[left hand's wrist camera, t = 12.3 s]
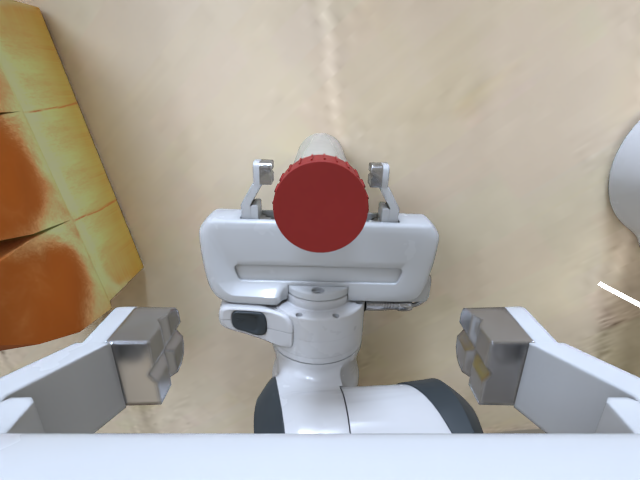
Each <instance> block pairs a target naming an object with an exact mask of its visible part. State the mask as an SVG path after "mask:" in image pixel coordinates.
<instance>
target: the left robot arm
mask: <svg viewBox="0 0 640 480" xmlns="http://www.w3.org/2000/svg"><path fill="white" fill-rule="evenodd" d="M179 324H180V317H179V312H178V310H177V309H176V308H170V307H117V308H115V309H114V310H113V311H112V312H111V313H110V314H109V315H108V316H107V317H106V318H105V319H104V320H103V321H102V322H101V323H100V325H99V326H98V327H97V328H96V329H95V330H94V331H93V332H92V333H91V334H90V335H89V336H88V337H87V338H86V339H85V340H84V341H83V343H75V344H72V345H70V346H68V347H66V348H64V349H62V350H59V351H57V352H55V353H53V354H51V355H49V356H46V357H44V358H42V359H40V360H38V361H36V362H33V363H31V364H29V365H27V366H25V367H22V368H20V369H18V370H16V371H14V372H12V373H9V374H7V375H5V376H3V377H1V378H0V480H640V378H639V377H637V376H635V375H633V374H630V373H628V372H626V371H624V370H622V369H620V368H617V367H615V366H613V365H611V364H609V363H607V362H604V361H602V360H600V359H598V358H596V357H594V356H591V355H589V354H587V353H585V352H583V351H581V350H578V349H576V348H574V347H572V346H570V345H568V344H565V343H558V342H557V341H556V340H555V339H554V338H553V337H552V336H551V335H550V334H549V333H548V332H547V331H546V330H545V329H544V328H543V327H542V326H541V324H540V323H539V322H538V321H537V320H536V319H535V318H534V317H533V316H532V315H531V314H530V313H529V312H528V311H527V310H526V309H525V308H523V307H521V306H520V307H491V308H463V310H462V313H461V317H460V324H461V325H462V327H463V329H464V330H463V331H462V332H461V333H460V334H459V335H458V336H457V342H456V354H457V360H458V363H459V366H460V368H461V370H462V372H463V373H465V374H466V375H468V376H469V377H470V379H469V386H470V388H471V390H472V392H473V394H474V396H475V398H476V400H477V402H478V404H480V405H514V407H515V408H516V409H517V410H518V411H519V412H521V413H522V414H523V415H524V416H526V417H527V418H528V419H529V420H531V421H532V422H533V423H534V424H535V425H537V426H538V427H539V428H540V429H542V430H543V431H544V432H545V433H547V434H101V433H100V434H99V433H95V432H96V431H97V430H99V429H100V428H101V427H102V426H103V425H105V424H106V423H107V422H108V421H110V420H111V419H112V418H113V417H115V416H116V415H117V414H118V413H120V412H121V411H122V410H123V409H124V408H126V405H159V404H162V402H163V400H164V398H165V396H166V394H167V392H168V390H169V388H170V386H171V379H170V377H171V376H172V375H174V374H175V373H177V372H178V370H179V368H180V366H181V364H182V359H183V355H184V341H183V336H182V335H181V334H180V333H179V332H178V331H177V330H176V329H177V327H178V325H179Z"/></svg>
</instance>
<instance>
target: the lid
mask: <svg viewBox="0 0 640 480" xmlns="http://www.w3.org/2000/svg"><path fill="white" fill-rule="evenodd" d="M279 181H280V183H279V184H277V186H276V189H275V191H274V192H275V196H274V200H273V203H272V204H273V213H274V218H275V221H276V224H277V226H278V228H279V230H280V231H281V233H282V234H283V236H284V237H285V238H286V239H287V240H288V241H289V242H291V243H292V244H293V245H295V246H297V247H299V248H301V249H303V250H306V251H310V252H316V253H326V252H332V251H336V250H338V249H341V248H343V247H345V246H347V245H348V244H349V243H351V242H352V241H353V240H354V239H355V238H356V237H357V236H358V235H359V234H360V232H361V231H362V229H363V227H364V225H365V223H366V220H367V216H368V211H369V209H368V208H369V206H368V199H369V197H368V195H367V193H366V190H365V185H364V182H363V180H362V179H360V178H359V175H358V173H357V170H356V169H355V170H354V169H353V168H352V167H351V166H350V165H349V164H348V162H347V161H346V162H345V161H343V160H341V159H339V158H338V157H337V156H335V157H334V156H330V155H325V153H323V155H313V154H311V156H308V157H305V158H300V159H299V161H297V162H295V163H294V164H293V165H290V166H289V168H288V169H287V171H286V172H285V173H283V174H282V176H281V178H280V180H279Z"/></svg>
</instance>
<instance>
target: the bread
mask: <svg viewBox="0 0 640 480" xmlns="http://www.w3.org/2000/svg"><path fill="white" fill-rule="evenodd" d="M142 268H143V264H142V262H141V259H140V257H139V254H138V252H137V250H136V247H135V245H134V242H133V240H132V237H131V235H130V232H129V230H128V227H127V225H126V222H125V220H124V217H123V215H122V212H121V210H120V207H119V205H118V202H117V200H116V197H115V195H114V192H113V190H112V188H111V185H110V183H109V180H108V178H107V175H106V173H105V170H104V168H103V165H102V163H101V160H100V158H99V155H98V153H97V150H96V148H95V145H94V143H93V140H92V138H91V135H90V133H89V130H88V128H87V126H86V123H85V121H84V118H83V116H82V113H81V111H80V108H79V106H78V103H77V101H76V98H75V96H74V93H73V91H72V88H71V86H70V83H69V81H68V78H67V76H66V73H65V71H64V68H63V66H62V63H61V61H60V59H59V56H58V54H57V51H56V49H55V46H54V44H53V41H52V39H51V36H50V34H49V31H48V29H47V26H46V24H45V21H44V19H43V16H42V14H41V11H40V9H39V8H38V7H34V6H31V5H28V4H24V3H21V2H17V1H14V0H0V351H1V350H7V349H13V348H19V347H25V346H31V345H37V344H41V343H44V342H48V341H51V340H54V339H58V338H61V337H64V336H68V335H71V334H74V333H78V332H80V331H82V330H83V329H84V328H86V327H87V326H88V325H90V324H91V323H92V322H94V321H95V320H97V319H98V318H99V317H101V316H102V315H103V314H105V313H106V312H107V311H109V310H110V309H111V303H110V300H111V299H112V298H113V297H114V296H115V295H116V294H117V293H118V292H119V291H120V290H121V289H122V288H123V287H124V286H125V285H126V284H127V283H128V282H129V281H130V280H131V279H132V278H133V277H134V276H135V275H136V274H137V273H138V272H139V271H140V270H141V269H142Z"/></svg>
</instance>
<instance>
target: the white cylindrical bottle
mask: <svg viewBox="0 0 640 480" xmlns="http://www.w3.org/2000/svg"><path fill="white" fill-rule="evenodd" d="M323 153H325V155H330V156H334V157H335V156H337V157H338V158H339V159H341V160H343V161H345V162H346V161H347V160H346V157H345V154H344V151H343V149H342V146H341V144H340V143H339V141H338V140H337V139H335V138H334V137H333V136H331V135H329V134H325V133H316V134H313V135H310V136H309V137H307V138H306V139H305V140H304V141H303V142H302V143H301V145H300V147H299V150H298V152H297V155H296V158H295V161H294V163H295V162H297V161H299V159H300V158H305V157H308V156H311V154H313V155H323ZM294 163H293V164H294Z"/></svg>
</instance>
